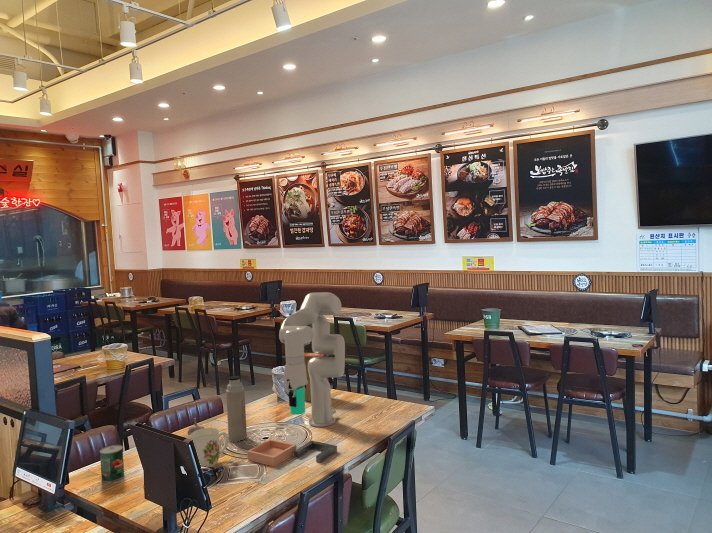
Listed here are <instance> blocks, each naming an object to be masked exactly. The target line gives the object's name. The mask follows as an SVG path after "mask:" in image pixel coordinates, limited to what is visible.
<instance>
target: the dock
mask: <svg viewBox="0 0 712 533" xmlns="http://www.w3.org/2000/svg"><path fill="white" fill-rule="evenodd" d="M312 450H318V451H321V452H320V453H318V454H317V455H315V462H316V463H318V464H322V463H323V462H324V461H326V460H327V459H329V458H330V457H332V456H333V455H335V454H336V453H338V445H337V444H336V445H335V444H330V443H325V442H320V441H315V440H309V441H308V442H307V443H304V444H303V445H302V446H300V447H297V448H296V450H295V451H294V455H293V457H294V458H297V459H298V458H301V457H302V456H303V455H305V454H307V453H309V451H312Z"/></svg>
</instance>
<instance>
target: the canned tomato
mask: <svg viewBox="0 0 712 533" xmlns="http://www.w3.org/2000/svg"><path fill="white" fill-rule="evenodd" d="M123 448H124V447H123V446H122V445H121V444H113V445H109V446H105V447H103V448H101V449H100V450H99V455H100V456H99V458H100V472H101V476H100V477H101V481H102V482H103V483H111V482H117V481H119V480H121V479H122V478H124V477H125V468H124V467H125V466H124V451H123Z"/></svg>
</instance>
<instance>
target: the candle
mask: <svg viewBox="0 0 712 533" xmlns="http://www.w3.org/2000/svg"><path fill="white" fill-rule="evenodd" d="M291 389H292V387H291ZM291 392H292V393H293V391H292V390H291ZM295 397H296V407H291V406H289V410H290V414H291V415H297V416H298V415H302V414H303V415H304V414H305V413H306V401H305V392H304V386H303V387H300V388H298V389H296V392H295Z"/></svg>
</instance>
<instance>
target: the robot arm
mask: <svg viewBox="0 0 712 533" xmlns="http://www.w3.org/2000/svg"><path fill="white" fill-rule="evenodd" d="M341 310H342V302H341V300H340V298H339V297H338V296H337V295H336V294H334V293H332V292H329V291H327V292H324V291H323V292H309V293H307V294H306V295H305V297H304V299H303V301H302V303H301V305H300V308H299V310H297V311H296V312H292V313H291V314H290V315H288V316H287V317H286V318H285V319H284V320H283V322H282V323H281V326H280V329H279V331H278V332H279V333H278V339H279V340H280V343H283V344H284V350H285V365H284V370H283V387H284V389H283V392H284V393H285V394H286V395H287V397H288V405H289V407H290V406H291V407H296V397H295V392H296V389H298V388H300V387H303V386H304V392H305V391H306V390H305V389H306V386H307V384H308V380H307V373H306V366H305V360H304V353H305V345H307V344H310V343H311V350H312V353H316V354H327V355H334V356H330V357H329V356H327V357H314V358H312V359H310V360H309V362H308V372H309V377H310V385H311V401H310V402H311V418H310V419H309V420H308V424H309V425H310V426H312V427H316V428H323V427H324V428H325V427H328V426H332V425H333V424H335V422H336V418H335V417H334V416H333V415H335V414H336V413H337V410H336V409H332V389H331V385H330V384H331V383H330V382H329V380H327V379H328V378H342V377H343V375H344V373H345V367H346V365H345V364H346V362H345V358H346V356H345V355H346V345H345V344H346V343H345V338H344V337H343V335H341V334H339V333H338V334H336V333H332V334H331V324H330V322H329V321H328V319H327V318H326V316H337V315H339V314H340V313H341V312H342V311H341ZM310 325H312V326H310ZM326 378H327V379H326ZM291 387H292V389H291ZM291 390H292V391H293V393H292V392H291Z"/></svg>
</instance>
